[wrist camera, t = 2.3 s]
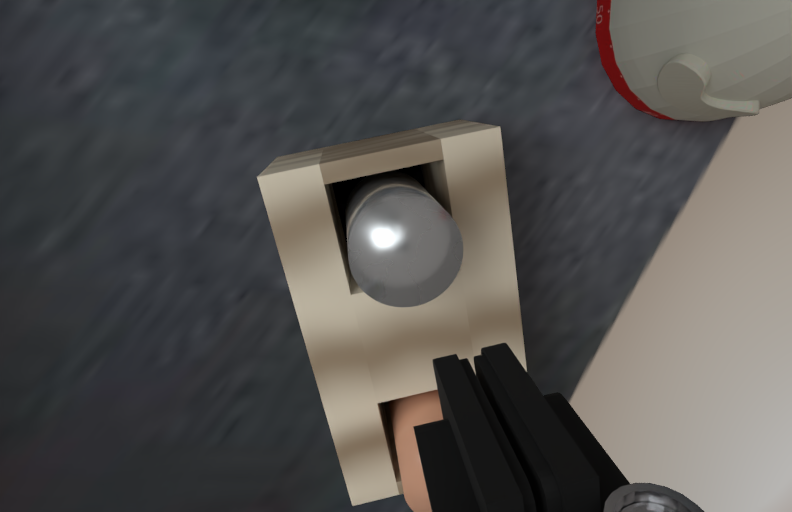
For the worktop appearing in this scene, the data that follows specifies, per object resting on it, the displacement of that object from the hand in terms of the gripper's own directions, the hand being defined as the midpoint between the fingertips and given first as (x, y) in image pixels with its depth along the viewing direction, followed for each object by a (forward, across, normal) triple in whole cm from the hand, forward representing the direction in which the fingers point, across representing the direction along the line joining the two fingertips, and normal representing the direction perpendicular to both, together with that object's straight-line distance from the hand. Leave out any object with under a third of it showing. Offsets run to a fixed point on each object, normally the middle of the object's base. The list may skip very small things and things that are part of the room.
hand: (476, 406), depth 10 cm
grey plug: (+18, 0, 0) cm, 18 cm away
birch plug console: (+22, 0, +6) cm, 23 cm away
